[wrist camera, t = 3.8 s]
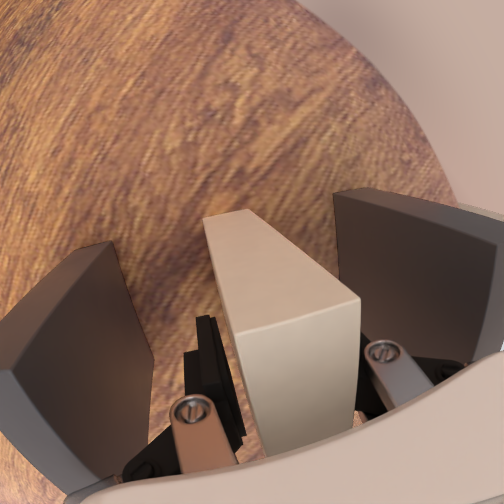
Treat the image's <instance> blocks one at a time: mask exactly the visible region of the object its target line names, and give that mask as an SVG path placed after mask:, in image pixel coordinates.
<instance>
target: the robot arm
mask: <svg viewBox="0 0 504 504" xmlns="http://www.w3.org/2000/svg"><path fill="white" fill-rule="evenodd" d="M196 327H197V339H198V350H194V351H189V352H184V382H185V396H184V397H182V398H180V399H178V400H177V401H176V402H175V403H174V404H173V405H172V406H171V409H170V412H169V417H170V422H171V425H170V426H169V427H167V428H166V429H165V430H164V431H163V432H162V433H161V434H160V435H159V436H158V437H156V438H155V439H154V440H153V441H152V442H151V443H150V444H149V445H147V446H146V447H145V448H144V449H143V450H142V451H140V452H139V453H138V454H137V455H136V456H135V457H134V458H132V459H131V460H130V461H129V462H128V463H127V464H126V465H125V467H124V469H123V471H122V474H120V475H118V476H116V475H115V474H113V475H111V476H109V477H106V478H104V479H102V480H100V481H98V482H96V483H93V484H91V485H89V486H86V487H84V488H82V489H79V490H77V491H75V492H72V493H71V494H69V495H67V497H66V498H65V500H64V503H63V504H504V350H503V351H500V352H496V353H493V354H491V355H489V356H486V357H484V358H482V359H480V360H478V361H471V362H465V365H463V364H461V363H460V362H458V361H454V360H447V359H436V358H426V357H416V356H410V354H409V353H408V352H407V351H406V350H405V348H404V347H403V346H402V345H401V344H400V343H399V342H397V341H394V340H391V339H379V340H375V341H372V342H371V341H370V340H369V339H368V338H367V337H366V336H365V335H364V334H363V333H362V332H361V331H360V349H359V366H358V379H357V390H356V401H355V410H356V411H358V413H359V416H360V419H361V421H362V423H363V424H361V425H359V426H356V427H354V428H352V429H349V430H347V431H344V432H342V433H339V434H337V435H334V436H332V437H329V438H326V439H324V440H321V441H318V442H315V443H313V444H310V445H307V446H304V447H301V448H297V449H294V450H291V451H288V452H285V453H281V454H278V455H274V456H271V457H267V458H263V459H259V460H255V461H251V462H247V463H242V464H239V462H238V460H237V457H236V455H235V453H236V451H237V450H238V449H239V448H240V447H241V446H242V445H243V442H242V438H241V437H243V436H247V434H246V430H245V427H244V423H243V419H242V415H241V412H240V408H239V404H238V400H237V396H236V392H235V388H234V384H233V380H232V376H231V372H230V368H229V365H228V361H227V358H226V354H225V351H224V347H223V344H222V340H221V336H220V333H219V329H218V325H217V321H216V318H215V317H212V318H210V315H204V316H200V317H196Z"/></svg>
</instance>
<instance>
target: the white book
mask: <svg viewBox="0 0 504 504" xmlns="http://www.w3.org/2000/svg"><path fill="white" fill-rule="evenodd" d="M202 221H203V226H204V230H205V235H206V240H207V244H208V249H209V253H210V258H211V262H212V266H213V271H214V275H215V279H216V284H217V288H218V292H219V296H220V301H221V305H222V309H223V313H224V317H225V321H226V325H227V329H228V333H229V337H230V341H231V345H232V348H233V352H234V356H235V359H236V363H237V366H238V370H239V373H240V377H241V380H242V384H243V387H244V391H245V394H246V398H247V401H248V404H249V408H250V411H251V414H252V418H253V421H254V424H255V428H256V431H257V434H258V437H259V440H260V443H261V447H262V450H263V453H264V456H265V458H267V457H271V456H274V455H278V454H281V453H285V452H288V451H291V450H294V449H297V448H301V447H304V446H307V445H310V444H313V443H315V442H318V441H321V440H324V439H326V438H329V437H332V436H334V435H337V434H339V433H342V432H344V431H347V430H349V429H352V426H353V418H354V410H355V401H356V390H357V379H358V366H359V349H360V324H361V299H360V297H358V296H357V295H356V294H355V293H354V292H352V291H351V290H350V289H349V288H348V287H346V286H345V285H344V284H343V283H341V282H340V281H339V280H338V279H337V278H335V277H334V276H333V275H332V274H330V273H329V272H328V271H327V270H326V269H324V268H323V267H322V266H321V265H319V264H318V263H317V262H316V261H314V260H313V259H312V258H311V257H309V256H308V255H307V254H306V253H304V252H303V251H302V250H301V249H299V248H298V247H297V246H296V245H294V244H293V243H292V242H290V241H289V240H288V239H287V238H285V237H284V236H283V235H282V234H280V233H279V232H278V231H276V230H275V229H274V228H273V227H271V226H270V225H269V224H267V223H266V222H265V221H264V220H262V219H261V218H260V217H258V216H257V215H256V214H254V213H253V212H252V211H251V210H249V209H243V210H238V211H233V212H228V213H224V214H219V215H214V216H210V217H205V218H202Z"/></svg>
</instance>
